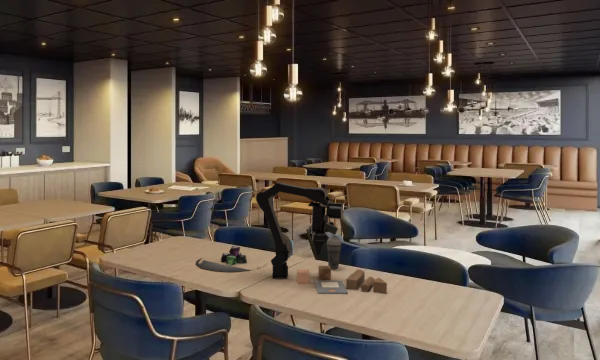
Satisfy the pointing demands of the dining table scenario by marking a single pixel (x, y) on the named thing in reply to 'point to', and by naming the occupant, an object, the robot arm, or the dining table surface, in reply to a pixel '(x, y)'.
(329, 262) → the beverage cup
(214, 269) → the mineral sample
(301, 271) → the terracotta block
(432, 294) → the dining table surface
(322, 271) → the walnut block
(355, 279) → the wooden block set
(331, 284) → the grey flat plate
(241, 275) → the dining table surface
